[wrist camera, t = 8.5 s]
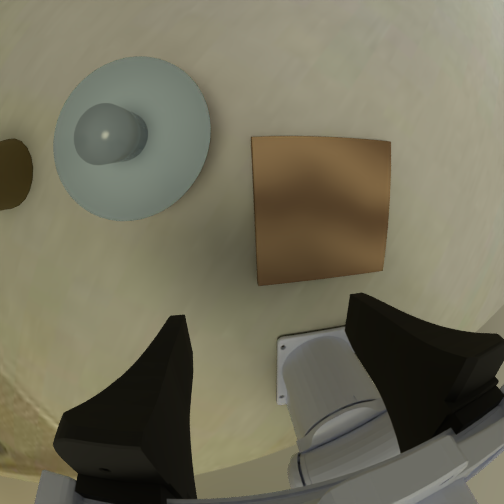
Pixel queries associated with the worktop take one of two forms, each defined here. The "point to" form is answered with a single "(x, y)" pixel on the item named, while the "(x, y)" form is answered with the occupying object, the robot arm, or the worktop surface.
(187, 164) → the lid
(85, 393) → the worktop surface
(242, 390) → the worktop surface
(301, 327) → the worktop surface
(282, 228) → the board
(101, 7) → the worktop surface
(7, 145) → the cork
